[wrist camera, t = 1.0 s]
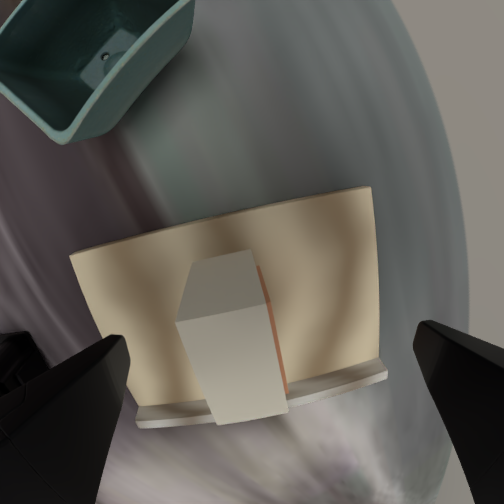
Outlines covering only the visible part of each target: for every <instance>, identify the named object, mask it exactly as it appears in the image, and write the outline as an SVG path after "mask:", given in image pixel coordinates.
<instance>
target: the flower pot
mask: <svg viewBox="0 0 504 504" xmlns="http://www.w3.org/2000/svg"><path fill="white" fill-rule="evenodd" d="M194 7H195V0H22V2H21V3H20V4H19V5H18V7H17V8H16V9H15V10H14V11H13V13H12V14H11V15H10V17H9V18H8V19H7V20H6V22H5V23H4V24H3V26H2V27H1V29H0V92H1V93H2V94H3V95H4V96H5V97H6V98H7V99H8V100H10V101H11V102H12V103H13V104H14V105H15V106H16V107H17V108H18V109H19V110H21V111H22V112H23V113H24V114H25V115H26V116H27V117H28V118H29V119H30V120H31V121H33V122H34V123H35V124H36V125H37V126H38V127H39V128H40V129H41V130H42V131H43V132H44V133H46V134H47V136H48V137H49V138H50V139H52V140H53V141H55V142H56V143H58V144H61V145H64V144H68V143H72V142H76V141H81V140H85V139H89V138H94V137H97V136H101V135H103V134H105V133H107V132H108V131H110V130H111V129H112V128H113V127H114V126H115V125H116V124H117V123H118V122H119V121H120V119H121V118H122V117H123V116H124V114H125V113H126V112H127V110H128V109H129V108H130V106H131V105H132V104H133V103H134V101H135V100H136V99H137V98H138V96H139V95H140V94H141V93H142V92H143V90H144V89H145V88H146V87H147V86H148V84H149V83H150V82H151V81H152V80H153V79H154V78H155V76H156V75H157V74H158V73H159V72H160V71H161V70H162V69H163V68H164V67H165V65H166V64H167V63H168V62H169V61H170V60H171V59H172V58H173V57H174V56H175V55H176V54H177V53H178V52H179V51H180V50H181V49H182V47H183V46H184V45H185V44H186V42H187V40H188V39H189V36H190V34H191V30H192V24H193V16H194ZM104 54H108V55H109V57H108V58H107V59H106V60H103V59H102V57H103V55H104Z"/></svg>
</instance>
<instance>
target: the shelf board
mask: <svg viewBox="0 0 504 504" xmlns="http://www.w3.org/2000/svg"><path fill="white" fill-rule="evenodd" d="M248 249H251V251H252V255H253V258H254V262H255V265H256V266H258V265H259V266H260V269H261V272H262V275H263V279H264V282H265V285H266V288H267V291H268V295H269V298H270V301H271V305H272V310H273V315H274V320H275V325H276V330H277V335H278V340H279V345H280V350H281V355H282V360H283V365H284V370H285V375H286V380H287V385H288V390H289V393H288V394H285V396H286V400H287V405H288V408H291V407H295V406H299V405H303V404H307V403H311V402H315V401H318V400H322V399H326V398H329V397H333V396H336V395H339V394H343V393H346V392H349V391H352V390H355V389H358V388H361V387H364V386H367V385H370V384H373V383H376V382H379V381H381V380H384V379H387V373H388V370H387V368H386V367H385V366H384V364H383V363H382V361H381V360H380V359H379V280H378V259H377V244H376V231H375V220H374V210H373V201H372V192H371V187H368V186H360V187H354V188H349V189H343V190H338V191H332V192H327V193H322V194H317V195H311V196H306V197H301V198H296V199H291V200H286V201H281V202H277V203H272V204H267V205H262V206H258V207H253V208H248V209H244V210H239V211H235V212H230V213H226V214H221V215H217V216H212V217H208V218H204V219H200V220H195V221H191V222H187V223H183V224H179V225H175V226H170V227H166V228H162V229H158V230H154V231H150V232H147V233H143V234H139V235H135V236H131V237H127V238H123V239H120V240H116V241H112V242H109V243H105V244H101V245H98V246H94V247H90V248H87V249H83V250H80V251H76V252H74V253H73V254H71V255H70V259H71V262H72V265H73V268H74V271H75V273H76V276H77V279H78V282H79V284H80V287H81V289H82V292H83V294H84V297H85V299H86V302H87V304H88V307H89V309H90V311H91V314H92V316H93V318H94V321H95V323H96V325H97V327H98V329H99V332H100V334H101V336H102V338H105V337H107V336H108V335H110V334H117V335H123V336H124V337H125V340H126V343H127V347H128V351H129V354H130V359H131V364H130V369H129V374H128V379H127V383H126V385H127V387H128V388H129V390H130V392H131V394H132V395H133V397H134V399H135V400H136V402H137V404H138V406H139V408H138V412H137V415H136V419H135V423H136V424H137V426H138V427H139V429H140V428H159V427H172V426H183V425H193V424H201V423H209V422H216V421H215V419H214V417H213V415H212V413H211V410H210V408H209V406H208V404H207V401H206V399H205V397H204V395H203V392H202V390H201V388H200V385H199V383H198V381H197V378H196V376H195V373H194V371H193V368H192V366H191V363H190V361H189V358H188V356H187V353H186V351H185V348H184V346H183V343H182V340H181V338H180V335H179V332H178V330H177V327H176V324H175V320H176V316H177V313H178V309H179V306H180V302H181V299H182V295H183V292H184V288H185V285H186V281H187V278H188V275H189V271H190V268H191V265H192V262H194V261H199V260H203V259H208V258H212V257H217V256H221V255H226V254H230V253H235V252H239V251H244V250H248Z"/></svg>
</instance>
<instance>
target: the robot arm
mask: <svg viewBox="0 0 504 504" xmlns="http://www.w3.org/2000/svg"><path fill="white" fill-rule="evenodd" d="M413 350H414V353H415V356H416V358H417V361H418V363H419V366H420V369H421V372H422V374H423V377H424V380H425V382H426V385H427V387H428V390H429V392H430V394H431V396H432V398H433V400H434V402H435V405H436V407H437V409H438V411H439V413H440V415H441V418H442V420H443V422H444V424H445V427H446V429H447V431H448V434H449V436H450V438H451V441H452V443H453V446H454V448H455V450H456V453H457V455H458V458H459V460H460V463H461V466H462V468H463V471H464V473H465V476H466V479H467V482H468V484H469V487H470V490H471V493H472V496H473V499H474V502H475V504H504V349H503V348H501V347H498V346H496V345H493V344H491V343H488V342H486V341H483V340H481V339H478V338H476V337H473V336H471V335H468V334H466V333H463V332H460V331H458V330H455V329H453V328H450V327H448V326H445V325H443V324H440V323H438V322H435V321H433V320H426V321H421V322H420V323H419V324H418V327H417V330H416V334H415V338H414V341H413ZM130 364H131V359H130V354H129V351H128V347H127V343H126V340H125V337H124V336H123V335H117V334H110V335H108V336H107V337H105V338H103V339H101V340H100V341H98V342H96V343H94V344H93V345H91V346H89V347H88V348H86V349H84V350H82V351H81V352H79V353H77V354H76V355H74V356H72V357H70V358H69V359H67V360H65V361H63V362H62V363H60V364H58V365H57V366H55V367H53V368H51V369H50V370H48V368H47V366H46V364H45V363H44V361H43V359H42V357H41V356H40V354H39V352H38V350H37V348H36V346H35V344H34V342H33V341H32V339H31V337H30V335H29V334H28V333H27V332H25V331H24V332H17V333H10V334H2V335H0V504H95V502H96V497H97V493H98V489H99V485H100V481H101V477H102V473H103V470H104V466H105V462H106V459H107V455H108V451H109V448H110V444H111V441H112V437H113V434H114V431H115V427H116V424H117V421H118V418H119V414H120V411H121V408H122V404H123V399H124V394H125V389H126V383H127V379H128V374H129V369H130Z"/></svg>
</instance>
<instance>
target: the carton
mask: <svg viewBox="0 0 504 504" xmlns="http://www.w3.org/2000/svg"><path fill="white" fill-rule="evenodd" d="M175 324H176V327H177V330H178V332H179V335H180V338H181V340H182V343H183V346H184V348H185V351H186V353H187V356H188V358H189V361H190V363H191V366H192V368H193V371H194V373H195V376H196V378H197V381H198V383H199V385H200V388H201V390H202V392H203V395H204V397H205V399H206V401H207V404H208V406H209V408H210V410H211V413H212V415H213V417H214V419H215V421H216V424H217V425H224V424H230V423H237V422H243V421H248V420H254V419H259V418H264V417H269V416H274V415H278V414H283V413H287V412H289V410H288V405H287V400H286V396H285V394H288V393H289V390H288V385H287V380H286V375H285V370H284V365H283V360H282V355H281V350H280V345H279V340H278V335H277V330H276V325H275V320H274V315H273V310H272V305H271V301H270V298H269V295H268V291H267V288H266V285H265V282H264V279H263V275H262V272H261V269H260V266H259V265H258V266H256V265H255V262H254V258H253V255H252V251H251V249H248V250H244V251H239V252H235V253H230V254H226V255H221V256H217V257H212V258H208V259H203V260H199V261H194V262H192V265H191V268H190V271H189V275H188V278H187V281H186V285H185V288H184V292H183V295H182V299H181V302H180V306H179V309H178V313H177V316H176V320H175Z"/></svg>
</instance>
